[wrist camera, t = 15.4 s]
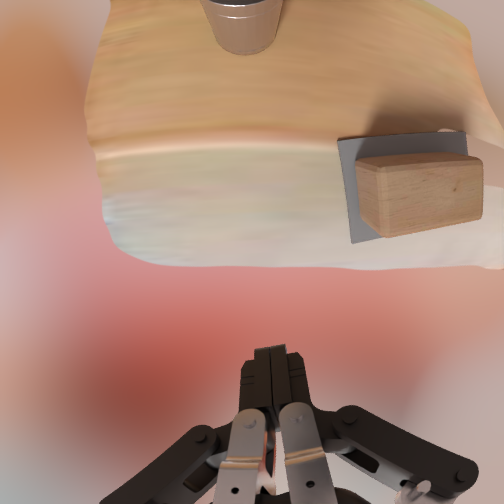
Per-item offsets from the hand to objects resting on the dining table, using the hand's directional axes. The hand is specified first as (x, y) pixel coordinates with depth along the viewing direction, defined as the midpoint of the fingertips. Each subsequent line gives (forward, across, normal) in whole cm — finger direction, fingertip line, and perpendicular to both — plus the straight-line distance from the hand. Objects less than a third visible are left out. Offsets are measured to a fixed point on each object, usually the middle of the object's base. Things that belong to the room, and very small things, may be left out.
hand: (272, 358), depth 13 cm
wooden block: (+26, -15, 0) cm, 30 cm away
